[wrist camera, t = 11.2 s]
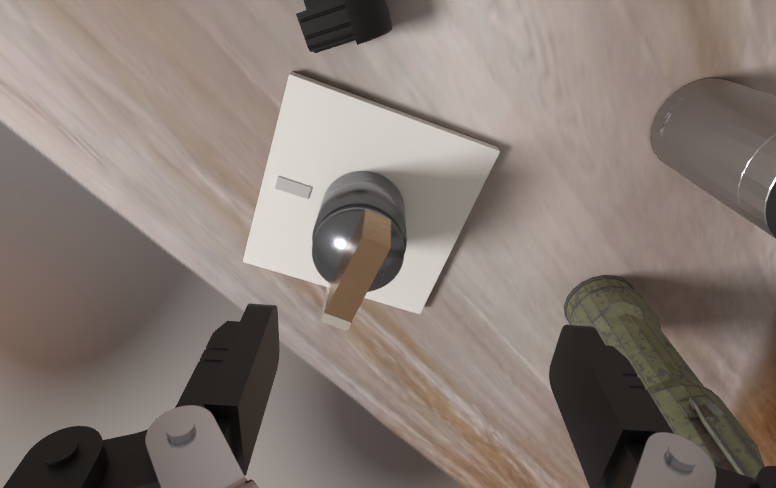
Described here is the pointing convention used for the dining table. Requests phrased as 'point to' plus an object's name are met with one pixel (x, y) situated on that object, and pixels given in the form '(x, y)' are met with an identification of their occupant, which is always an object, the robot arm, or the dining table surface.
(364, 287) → the lock lever handle
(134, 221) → the dining table surface
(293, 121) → the lock base
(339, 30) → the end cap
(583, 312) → the thermos
